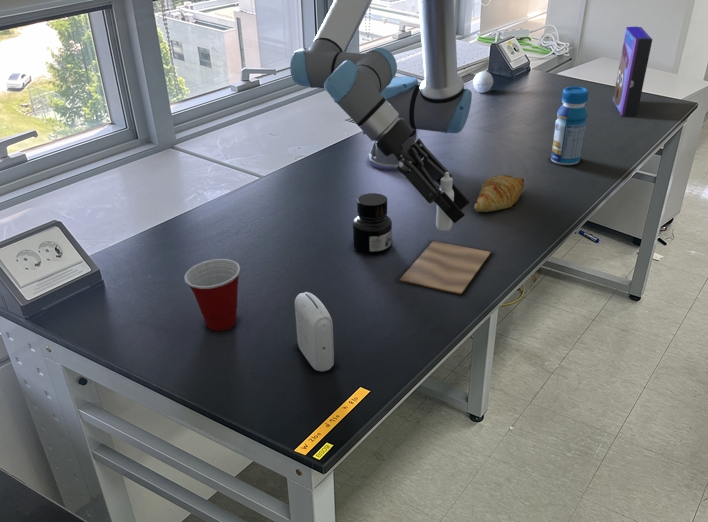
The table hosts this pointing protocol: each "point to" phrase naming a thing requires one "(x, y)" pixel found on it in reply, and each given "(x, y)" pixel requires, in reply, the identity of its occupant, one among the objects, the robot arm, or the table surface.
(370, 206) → the ink bottle
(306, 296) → the photo printer
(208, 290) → the plastic cup
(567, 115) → the beverage bottle
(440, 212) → the eye dropper bottle
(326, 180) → the table surface
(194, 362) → the table surface
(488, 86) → the white ovoid
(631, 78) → the cereal box
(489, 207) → the croissant
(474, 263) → the wooden board
